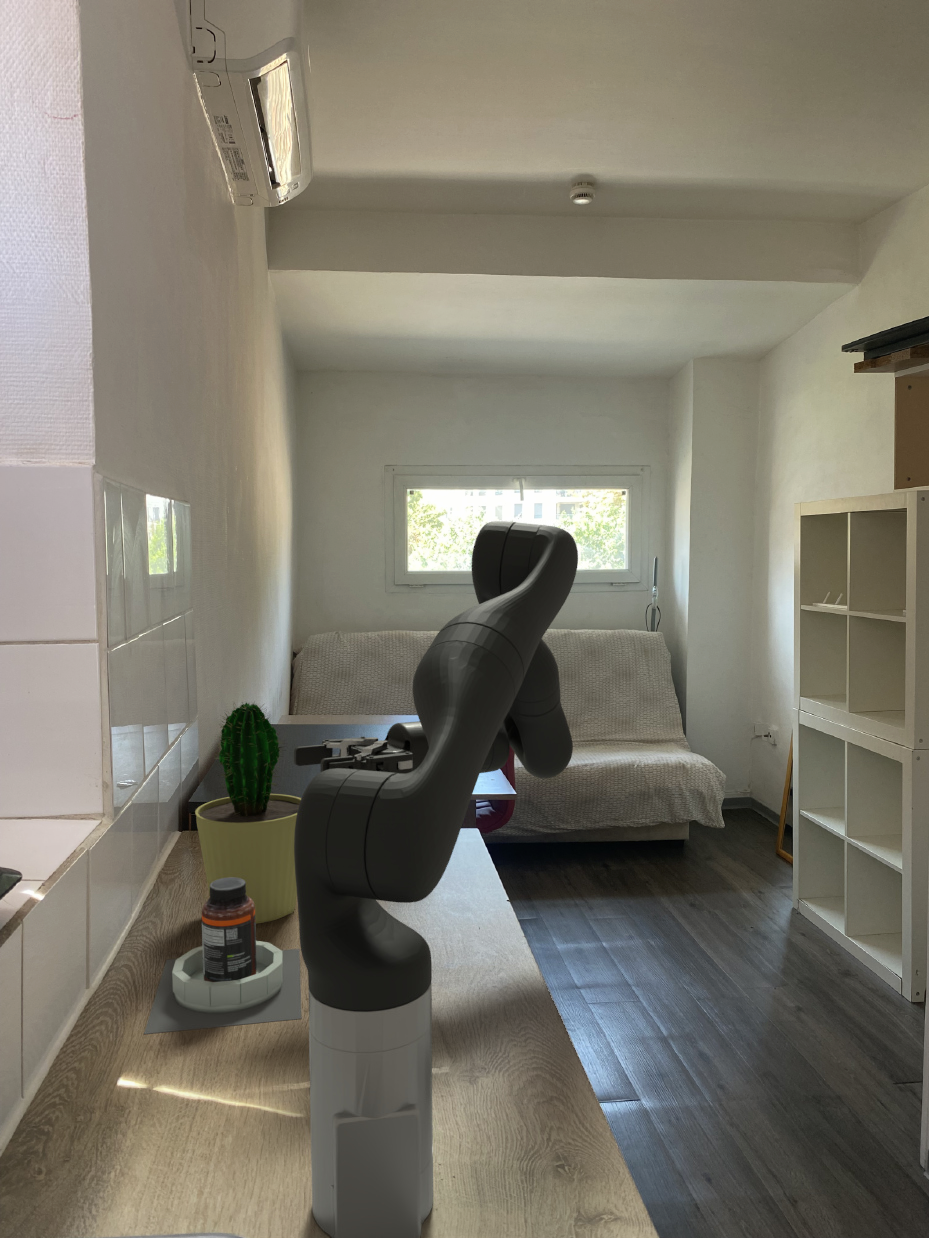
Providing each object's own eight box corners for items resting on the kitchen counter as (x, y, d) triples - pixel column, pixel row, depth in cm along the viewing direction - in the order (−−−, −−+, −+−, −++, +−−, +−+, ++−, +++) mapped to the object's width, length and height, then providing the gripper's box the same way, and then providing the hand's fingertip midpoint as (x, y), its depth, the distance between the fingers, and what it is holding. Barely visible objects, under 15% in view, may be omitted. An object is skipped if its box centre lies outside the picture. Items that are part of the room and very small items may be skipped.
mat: (301, 1022, 98) (301, 1018, 98) (143, 1037, 95) (143, 1033, 95) (299, 951, 115) (299, 948, 115) (166, 962, 112) (166, 959, 112)
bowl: (282, 1006, 100) (281, 980, 100) (167, 1017, 98) (167, 990, 98) (283, 960, 112) (282, 936, 112) (180, 968, 110) (180, 944, 110)
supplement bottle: (235, 963, 109) (233, 869, 108) (267, 977, 106) (266, 881, 105) (192, 981, 105) (190, 883, 104) (224, 996, 101) (222, 896, 100)
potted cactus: (321, 922, 125) (317, 703, 123) (204, 940, 119) (198, 710, 117) (298, 885, 139) (295, 688, 137) (192, 899, 133) (187, 694, 131)
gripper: (404, 713, 121) (286, 722, 113) (459, 728, 109) (331, 739, 100) (404, 770, 121) (286, 783, 113) (458, 791, 109) (331, 807, 101)
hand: (307, 762), depth 107 cm, fingers open, 8 cm apart
